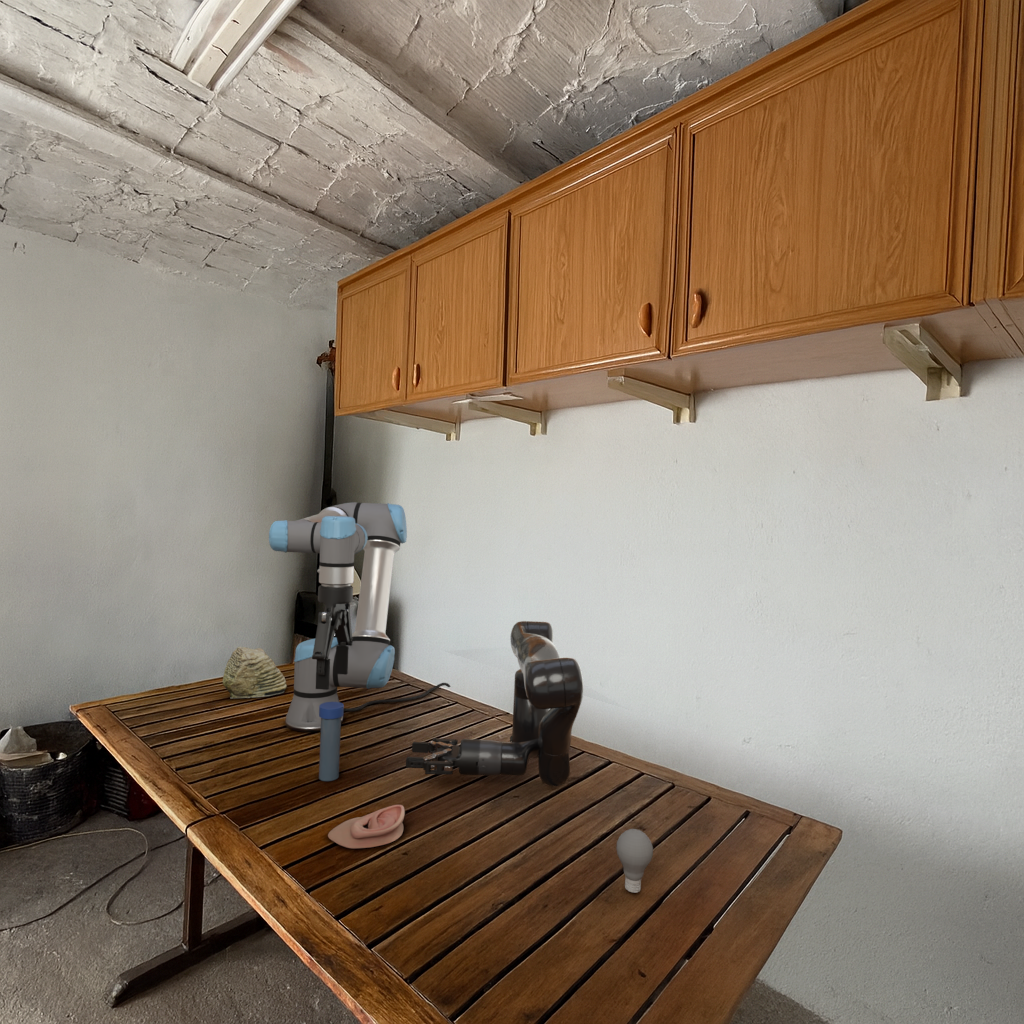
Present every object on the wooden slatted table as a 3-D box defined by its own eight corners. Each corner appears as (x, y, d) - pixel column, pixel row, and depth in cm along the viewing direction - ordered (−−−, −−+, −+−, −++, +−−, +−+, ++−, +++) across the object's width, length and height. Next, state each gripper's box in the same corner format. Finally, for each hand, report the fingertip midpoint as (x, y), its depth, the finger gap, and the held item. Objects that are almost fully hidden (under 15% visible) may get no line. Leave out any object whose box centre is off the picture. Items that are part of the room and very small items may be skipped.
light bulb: (610, 879, 108) (613, 822, 108) (644, 879, 109) (647, 822, 109) (619, 902, 102) (622, 840, 102) (655, 901, 103) (658, 840, 103)
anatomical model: (320, 822, 115) (348, 794, 127) (319, 843, 116) (348, 813, 127) (388, 833, 113) (411, 803, 124) (387, 855, 113) (410, 823, 124)
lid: (347, 716, 143) (348, 706, 143) (325, 720, 139) (326, 710, 139) (336, 709, 147) (336, 700, 147) (314, 714, 143) (315, 704, 143)
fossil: (218, 695, 195) (220, 647, 195) (278, 685, 208) (279, 640, 207) (228, 703, 189) (230, 653, 188) (289, 692, 201) (290, 645, 201)
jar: (342, 777, 143) (345, 708, 143) (324, 783, 140) (326, 711, 140) (333, 771, 146) (336, 703, 146) (315, 776, 143) (317, 706, 143)
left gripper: (338, 577, 155) (334, 666, 155) (298, 591, 131) (294, 695, 131) (368, 579, 154) (364, 668, 154) (333, 593, 130) (329, 698, 131)
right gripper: (482, 729, 150) (414, 726, 150) (480, 753, 136) (404, 750, 135) (481, 760, 150) (412, 757, 150) (478, 788, 136) (403, 785, 135)
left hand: (332, 681), depth 143 cm, fingers open, 11 cm apart
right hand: (409, 754), depth 143 cm, fingers open, 8 cm apart
